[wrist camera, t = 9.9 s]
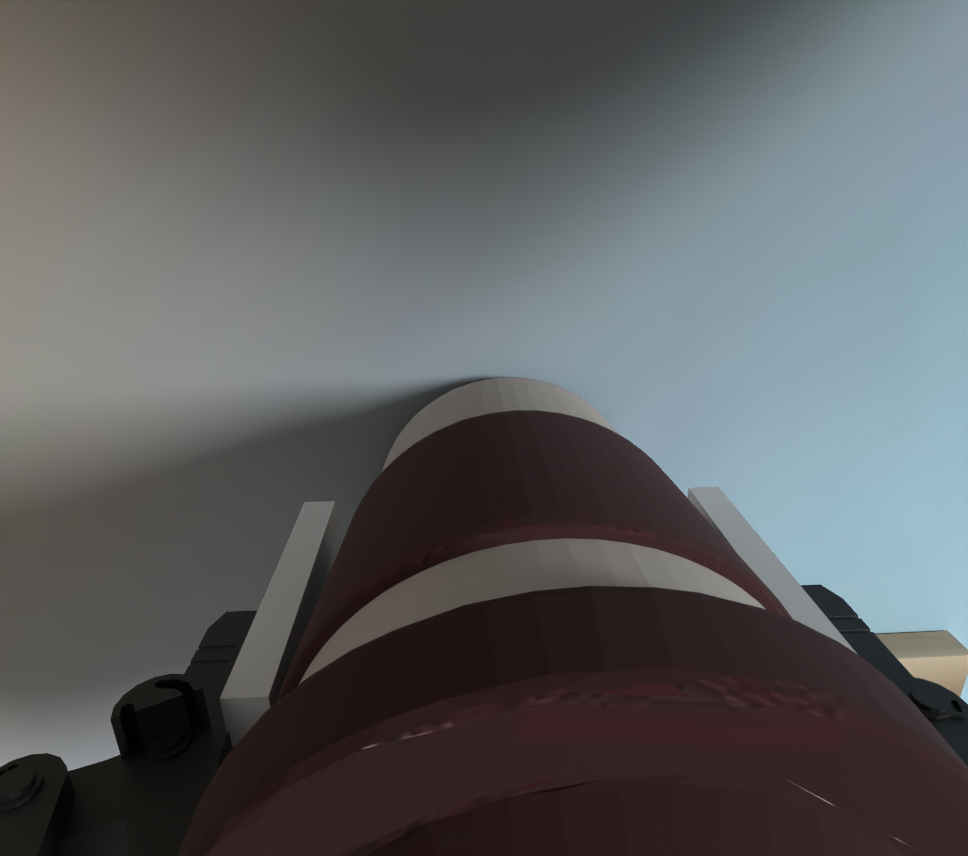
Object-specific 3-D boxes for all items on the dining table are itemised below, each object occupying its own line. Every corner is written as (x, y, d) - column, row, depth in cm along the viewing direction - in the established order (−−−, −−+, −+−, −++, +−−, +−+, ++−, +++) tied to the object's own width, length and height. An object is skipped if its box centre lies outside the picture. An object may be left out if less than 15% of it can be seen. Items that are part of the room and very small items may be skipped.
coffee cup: (368, 642, 22) (220, 1504, 8) (304, 347, 18) (-200, 977, 4) (671, 606, 22) (1067, 1400, 8) (669, 303, 18) (1412, 781, 4)
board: (475, 652, 22) (476, 678, 21) (947, 630, 23) (973, 655, 21) (484, 989, 29) (486, 1023, 28) (849, 966, 29) (864, 998, 28)
